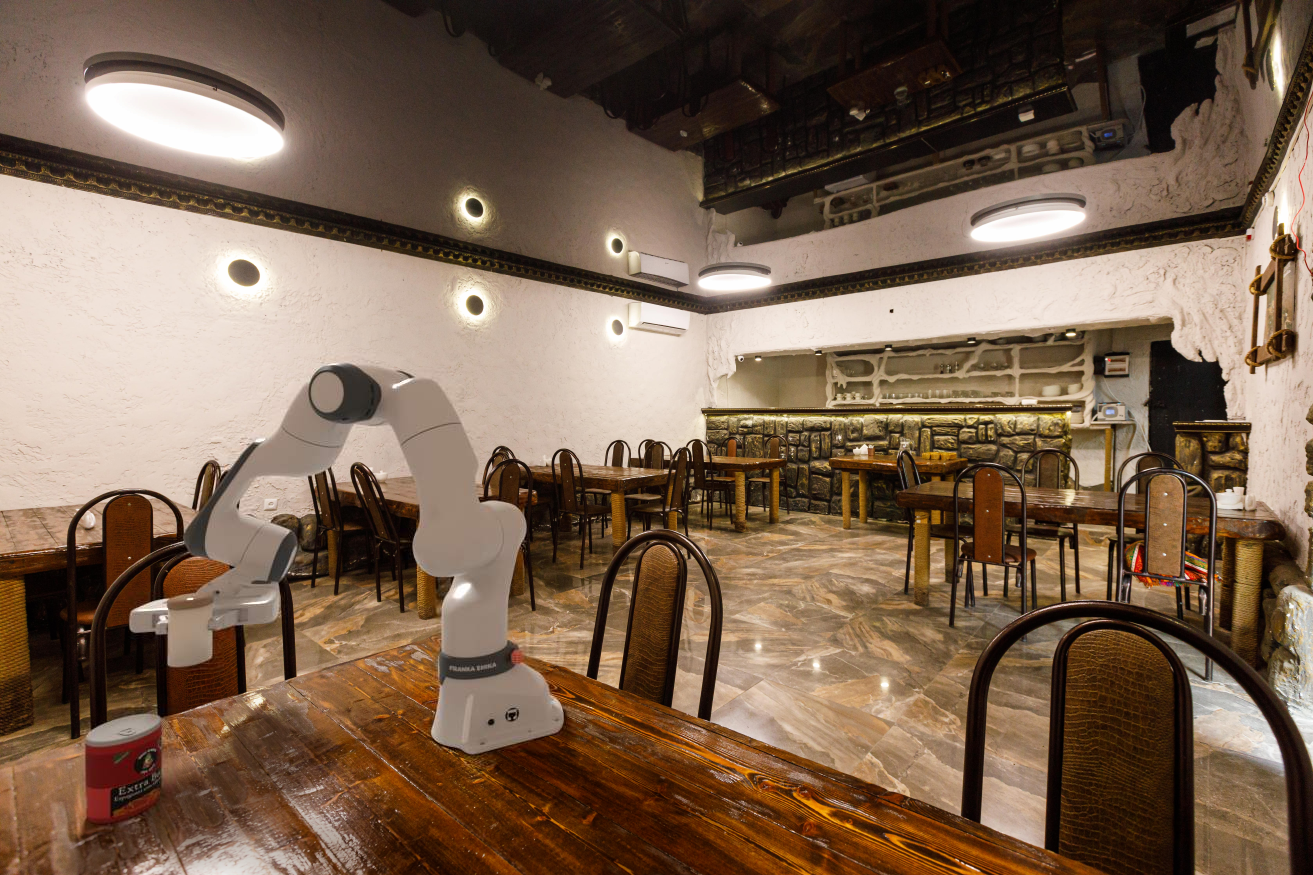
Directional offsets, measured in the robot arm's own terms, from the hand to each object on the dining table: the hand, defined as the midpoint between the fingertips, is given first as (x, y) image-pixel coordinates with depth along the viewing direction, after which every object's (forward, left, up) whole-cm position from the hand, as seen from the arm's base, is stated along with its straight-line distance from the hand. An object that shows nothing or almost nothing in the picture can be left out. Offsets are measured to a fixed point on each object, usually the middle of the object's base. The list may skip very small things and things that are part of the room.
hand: (187, 627), depth 90 cm
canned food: (+3, +12, -21) cm, 24 cm away
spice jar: (0, -1, -5) cm, 6 cm away
